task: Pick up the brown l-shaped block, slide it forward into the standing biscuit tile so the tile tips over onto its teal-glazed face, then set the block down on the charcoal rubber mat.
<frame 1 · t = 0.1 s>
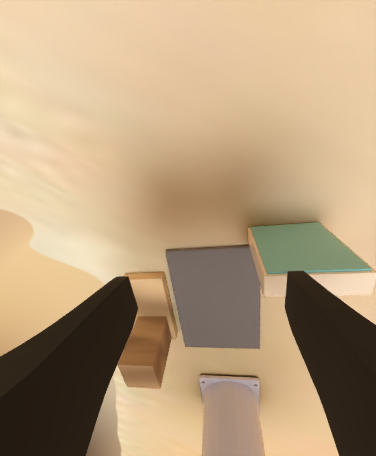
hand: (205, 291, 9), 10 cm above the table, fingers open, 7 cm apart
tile: (282, 233, 19), on the table
mat: (216, 302, 23), on the table
brown l-shaped block: (157, 318, 25), on the table
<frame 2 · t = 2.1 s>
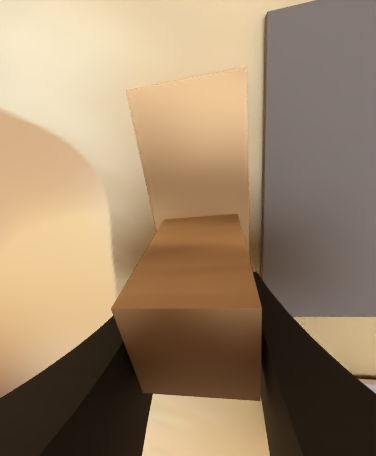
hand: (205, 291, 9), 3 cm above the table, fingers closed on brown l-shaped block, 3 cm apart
mat: (366, 196, 9), on the table
brown l-shaped block: (204, 237, 11), on the table, touching gripper
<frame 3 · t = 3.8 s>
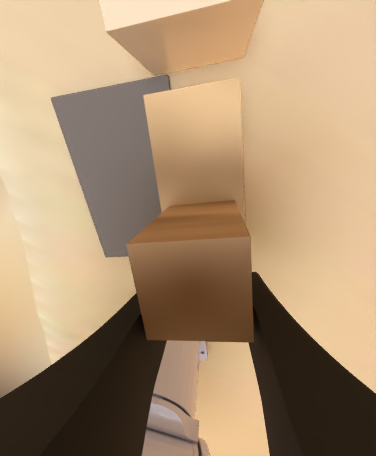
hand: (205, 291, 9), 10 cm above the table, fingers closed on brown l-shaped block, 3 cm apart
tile: (195, 52, 14), on the table
mat: (131, 183, 18), on the table
brown l-shaped block: (205, 227, 12), point 6 cm above the table, tilted 7°, touching gripper
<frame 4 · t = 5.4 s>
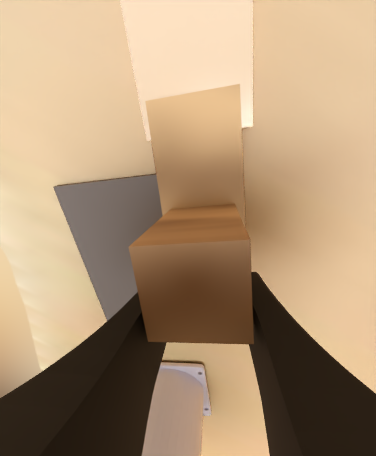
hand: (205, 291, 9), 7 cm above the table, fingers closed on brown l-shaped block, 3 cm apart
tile: (198, 134, 12), point 1 cm above the table, tilted 90°
mat: (135, 261, 18), on the table
brown l-shaped block: (206, 230, 12), point 3 cm above the table, tilted 8°, touching gripper
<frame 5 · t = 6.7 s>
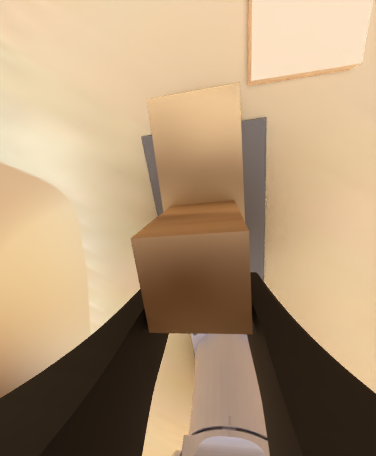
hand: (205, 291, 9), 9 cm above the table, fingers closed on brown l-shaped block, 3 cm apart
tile: (299, 75, 13), point 1 cm above the table, tilted 90°
mat: (209, 216, 18), on the table
brown l-shaped block: (206, 227, 13), point 5 cm above the table, tilted 9°, touching gripper
when the fingers open (4 cm above the table, at t = 7.6 s): brown l-shaped block stays where it is, resting on mat.
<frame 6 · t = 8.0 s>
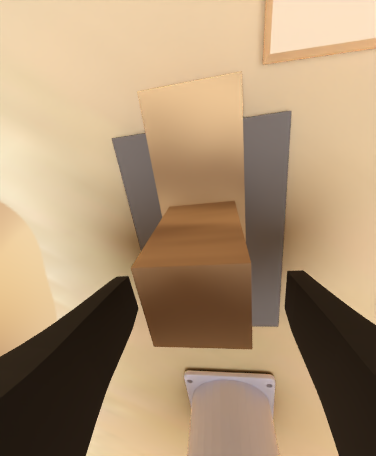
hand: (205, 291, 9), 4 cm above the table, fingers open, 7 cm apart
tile: (343, 49, 8), point 1 cm above the table, tilted 90°
mat: (208, 244, 13), on the table
brown l-shaped block: (205, 224, 12), resting on mat
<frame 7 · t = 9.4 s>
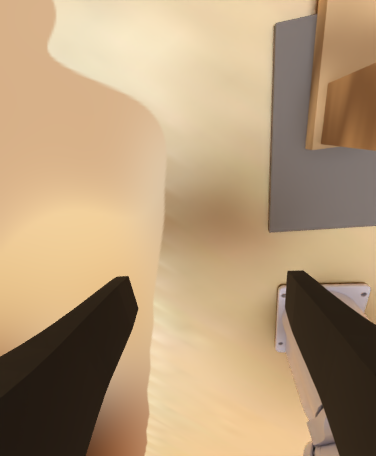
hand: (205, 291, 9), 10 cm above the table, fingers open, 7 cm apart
mat: (336, 138, 15), on the table
brown l-shaped block: (343, 112, 14), resting on mat
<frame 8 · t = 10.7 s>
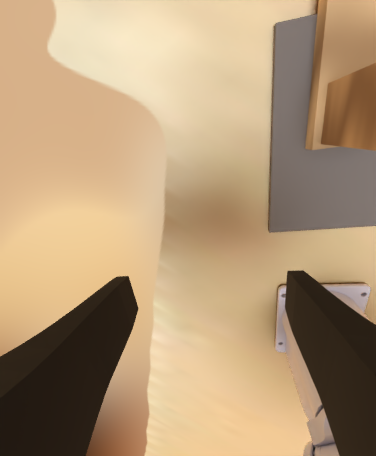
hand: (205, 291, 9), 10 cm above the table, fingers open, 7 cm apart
mat: (336, 138, 15), on the table
brown l-shaped block: (343, 112, 14), resting on mat
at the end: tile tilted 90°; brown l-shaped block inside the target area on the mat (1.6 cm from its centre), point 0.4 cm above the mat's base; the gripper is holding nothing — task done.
